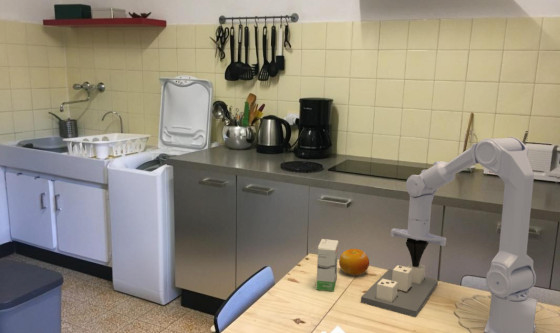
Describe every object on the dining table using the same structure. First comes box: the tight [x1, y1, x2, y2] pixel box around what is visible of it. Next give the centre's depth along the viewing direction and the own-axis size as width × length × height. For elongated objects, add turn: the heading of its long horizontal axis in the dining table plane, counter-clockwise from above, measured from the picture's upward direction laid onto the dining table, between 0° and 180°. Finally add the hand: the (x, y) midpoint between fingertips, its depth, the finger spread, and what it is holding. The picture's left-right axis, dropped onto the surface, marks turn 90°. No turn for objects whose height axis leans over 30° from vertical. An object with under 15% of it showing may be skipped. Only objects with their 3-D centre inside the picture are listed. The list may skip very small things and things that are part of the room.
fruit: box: [338, 248, 370, 276], centre depth 139 cm, size 8×8×8 cm
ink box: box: [316, 238, 339, 292], centre depth 130 cm, size 9×5×12 cm, turn 168°
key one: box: [406, 261, 426, 284], centre depth 131 cm, size 4×4×5 cm
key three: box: [376, 279, 398, 303], centre depth 120 cm, size 4×4×5 cm
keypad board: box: [360, 268, 439, 318], centre depth 126 cm, size 14×22×2 cm, turn 149°
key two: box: [392, 264, 412, 292], centre depth 125 cm, size 4×4×5 cm
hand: (415, 265), depth 131 cm, fingers closed, pressing on key one
